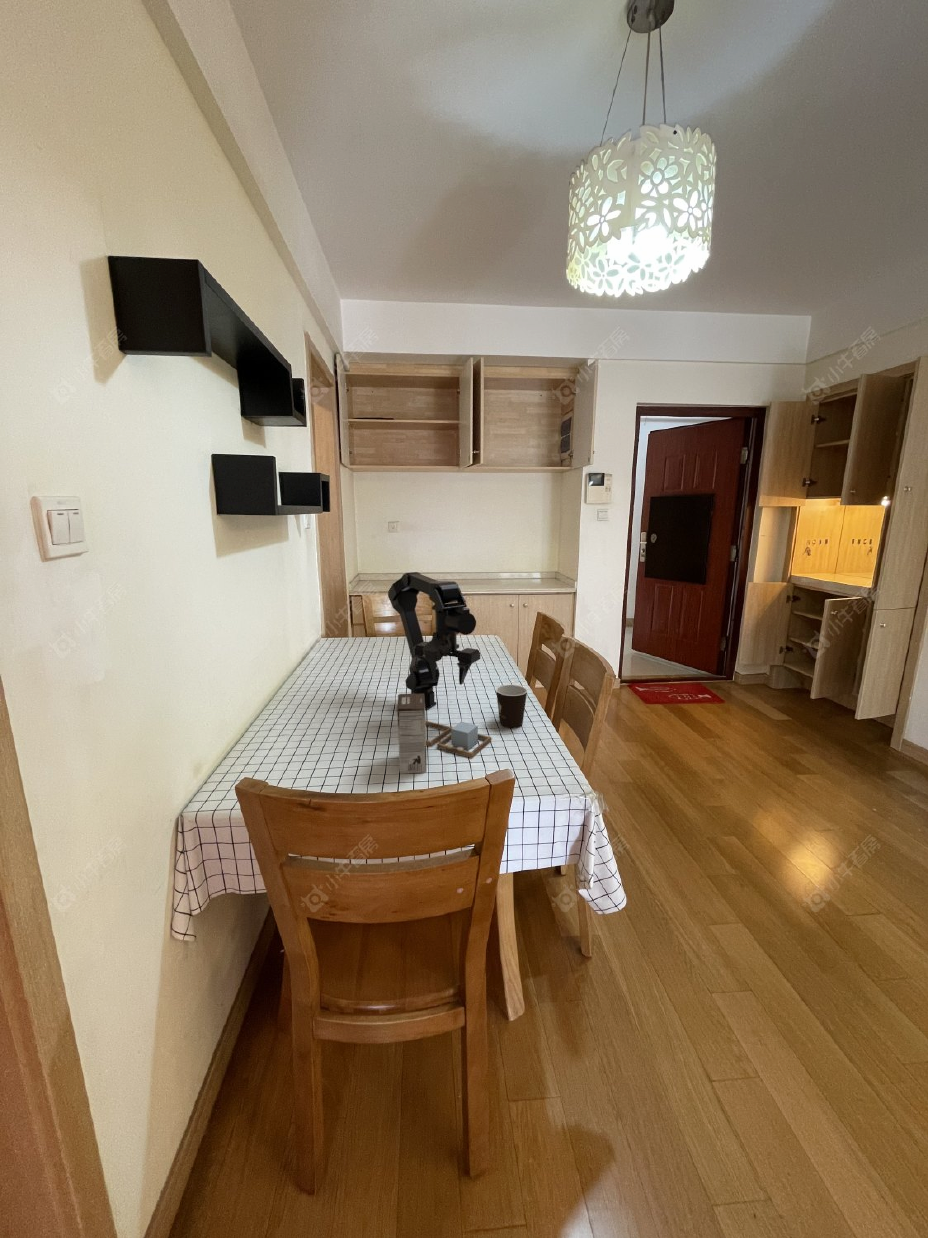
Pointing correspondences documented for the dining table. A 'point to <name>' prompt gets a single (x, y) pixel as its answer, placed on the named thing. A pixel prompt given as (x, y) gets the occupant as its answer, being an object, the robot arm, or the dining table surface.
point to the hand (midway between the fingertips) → (446, 681)
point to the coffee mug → (511, 705)
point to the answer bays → (450, 747)
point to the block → (464, 735)
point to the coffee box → (412, 733)
